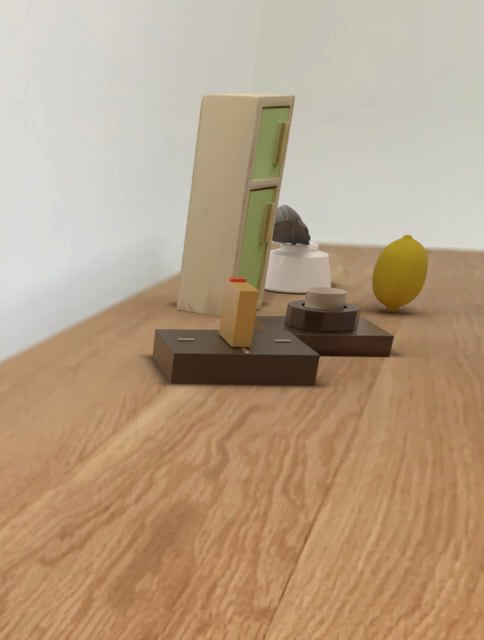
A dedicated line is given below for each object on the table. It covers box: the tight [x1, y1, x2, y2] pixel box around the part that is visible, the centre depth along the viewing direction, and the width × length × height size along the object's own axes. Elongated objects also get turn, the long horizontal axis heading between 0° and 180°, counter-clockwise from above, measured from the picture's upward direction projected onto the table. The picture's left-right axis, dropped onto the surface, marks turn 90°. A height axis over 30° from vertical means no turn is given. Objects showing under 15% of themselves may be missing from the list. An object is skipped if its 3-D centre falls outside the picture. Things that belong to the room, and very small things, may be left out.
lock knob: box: [218, 277, 259, 348], centre depth 94 cm, size 6×2×5 cm, turn 179°
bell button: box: [304, 287, 348, 310], centre depth 105 cm, size 4×4×2 cm
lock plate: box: [151, 328, 321, 387], centre depth 96 cm, size 12×10×3 cm
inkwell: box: [264, 204, 332, 294], centre depth 132 cm, size 9×18×10 cm, turn 150°
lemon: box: [371, 234, 429, 313], centre depth 122 cm, size 6×6×8 cm
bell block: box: [253, 298, 395, 358], centre depth 106 cm, size 11×9×4 cm
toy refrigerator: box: [176, 92, 296, 318], centre depth 119 cm, size 8×7×21 cm
